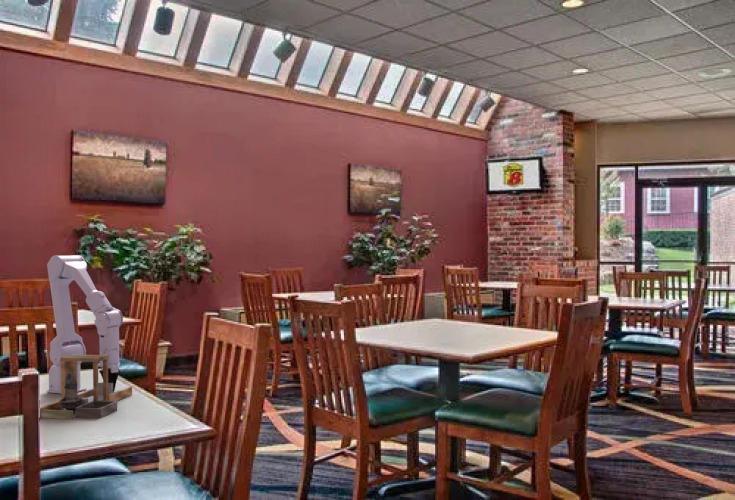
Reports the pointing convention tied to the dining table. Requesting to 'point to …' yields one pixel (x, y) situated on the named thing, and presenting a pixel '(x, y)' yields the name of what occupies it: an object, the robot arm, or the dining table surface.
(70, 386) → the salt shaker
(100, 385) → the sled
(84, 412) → the brown wooden frame
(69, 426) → the dining table surface
